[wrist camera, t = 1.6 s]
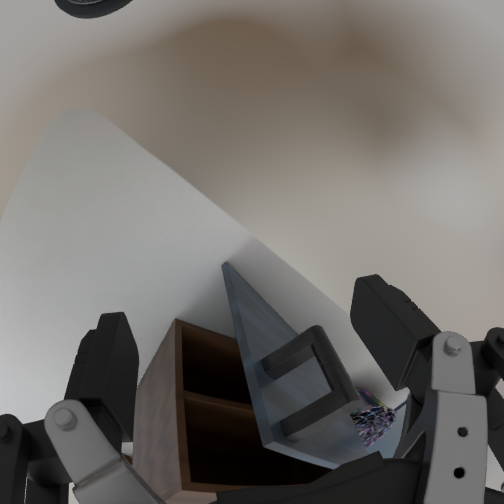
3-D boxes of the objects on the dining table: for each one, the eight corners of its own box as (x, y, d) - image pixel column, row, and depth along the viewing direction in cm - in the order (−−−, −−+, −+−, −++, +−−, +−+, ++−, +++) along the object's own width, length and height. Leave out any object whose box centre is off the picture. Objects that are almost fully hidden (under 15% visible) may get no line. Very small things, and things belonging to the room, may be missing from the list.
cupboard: (175, 318, 40) (181, 490, 19) (317, 362, 50) (372, 480, 29) (136, 389, 46) (133, 520, 25) (262, 417, 56) (291, 521, 35)
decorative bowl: (251, 432, 61) (257, 469, 53) (339, 367, 52) (357, 411, 43) (324, 440, 72) (333, 470, 63) (402, 386, 62) (419, 418, 54)
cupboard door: (265, 232, 36) (353, 397, 16) (350, 339, 49) (416, 453, 28) (221, 265, 37) (262, 446, 17) (318, 361, 50) (372, 478, 29)
